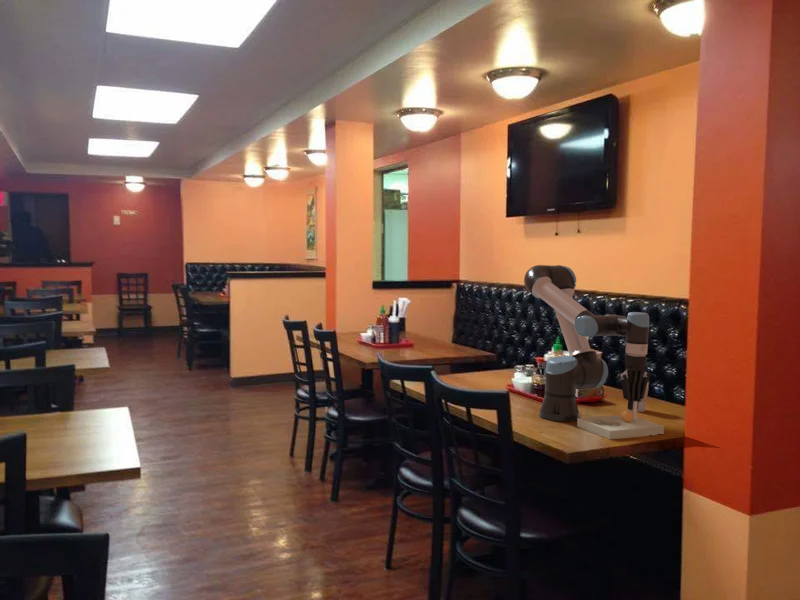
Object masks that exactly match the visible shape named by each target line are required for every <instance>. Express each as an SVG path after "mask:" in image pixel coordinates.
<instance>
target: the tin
mask: <svg viewBox="0 0 800 600" xmlns="http://www.w3.org/2000/svg"><path fill="white" fill-rule="evenodd" d="M604 395H605V388H604V385H602V386H600V387H595V388H585V389H581V390H580V389H579V392H578V397H588V396H601V397H602V399H603V398H604Z"/></svg>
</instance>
